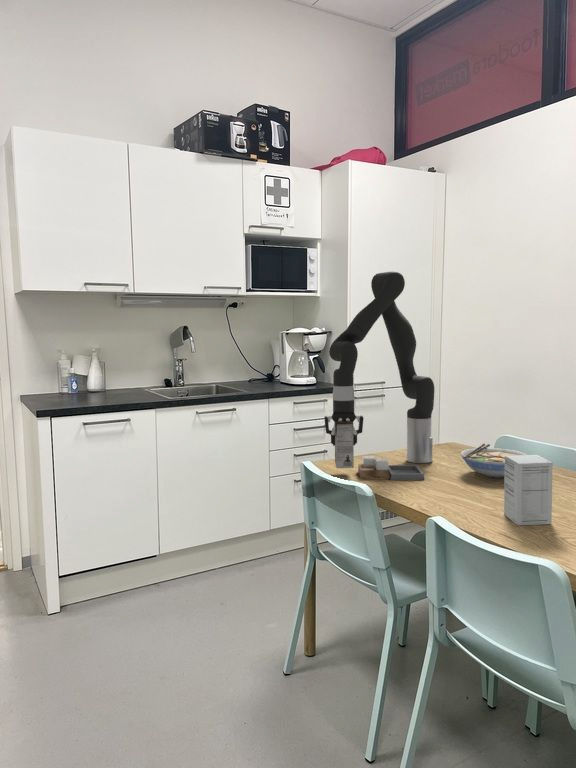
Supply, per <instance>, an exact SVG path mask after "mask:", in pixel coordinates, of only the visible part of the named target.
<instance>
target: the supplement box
mask: <svg viewBox="0 0 576 768" xmlns="http://www.w3.org/2000/svg"><path fill="white" fill-rule="evenodd" d="M553 464H554V463H553V462H552V461H550V460H548V459H546V458H545V457H542V456H540V455H538V454H527V455H518V456H505V477H503V478H504V479H503V480H504V483H503V484H504V486H503V487H504V491H503V492H504V493H503V494H504V495H503V500H504V501H503V503H504V504H503V513H504V514H503V515H504V516H505V517H507V518H508V520H510V521H511V522H512V523H514V524H515V525H516V524H517V525H516V526H537V525H539V526H540V525H541V526H542V525H552V517H553V515H552V512H553V509H552V507H553Z"/></svg>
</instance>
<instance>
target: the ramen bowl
mask: <svg viewBox="0 0 576 768" xmlns="http://www.w3.org/2000/svg"><path fill="white" fill-rule="evenodd" d="M490 446H491V445H490V443H488V444H486V443H482V444H480V445H479V446H478V447H475V448H468V449H465V450H462V451H461V452H460V456H461V458H462V460H463V461H464V462H465V464H466V465H467V466H468V467H469V468H470V469H471V470H473V471H474V472H476V473H479V474H482V475H483V476H484V475H485V476H484V477H487V478H493V477H494V479H498V478H499V479H500V477H501V478H504V477H505V456H518V455H528V454H527V453H525V452H523V451H522V452H521V451H518V450H514V449H507V448H496V447H495V448H494V447H490Z"/></svg>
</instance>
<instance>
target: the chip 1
mask: <svg viewBox="0 0 576 768" xmlns="http://www.w3.org/2000/svg"><path fill="white" fill-rule="evenodd" d="M375 459H376V458H375V456H374V455H362V464H363V467H375Z"/></svg>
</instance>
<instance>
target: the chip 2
mask: <svg viewBox="0 0 576 768" xmlns="http://www.w3.org/2000/svg"><path fill="white" fill-rule="evenodd" d="M388 465H389V461H388V459H387V458H375V468H376V470H388Z"/></svg>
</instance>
